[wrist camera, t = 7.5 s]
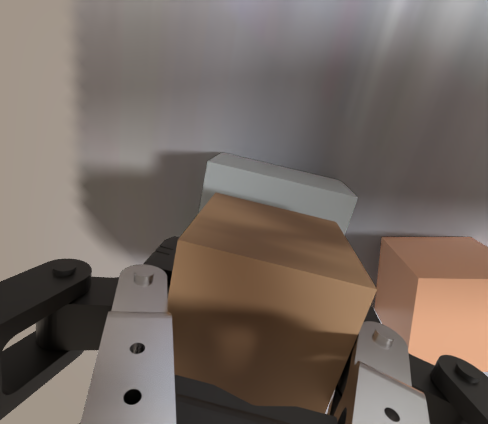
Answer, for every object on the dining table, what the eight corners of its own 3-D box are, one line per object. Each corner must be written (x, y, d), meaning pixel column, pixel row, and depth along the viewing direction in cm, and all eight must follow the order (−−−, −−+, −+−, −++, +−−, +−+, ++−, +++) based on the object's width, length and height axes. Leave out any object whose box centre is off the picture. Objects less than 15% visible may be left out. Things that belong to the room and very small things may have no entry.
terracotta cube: (469, 236, 18) (542, 279, 13) (455, 309, 19) (515, 372, 14) (381, 236, 18) (418, 278, 13) (373, 307, 20) (405, 368, 15)
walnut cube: (336, 221, 12) (377, 289, 7) (301, 323, 14) (316, 433, 9) (215, 192, 12) (177, 240, 7) (194, 295, 14) (152, 390, 9)
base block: (340, 180, 17) (358, 197, 13) (305, 283, 19) (313, 323, 16) (222, 152, 17) (207, 161, 14) (201, 257, 20) (183, 290, 16)
